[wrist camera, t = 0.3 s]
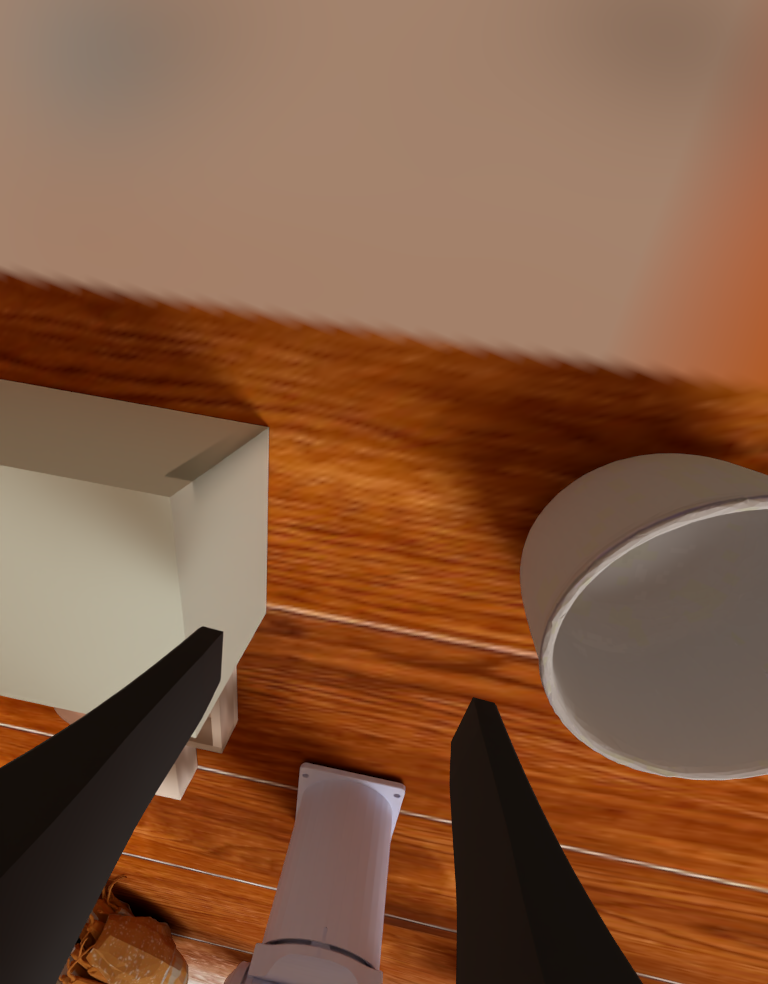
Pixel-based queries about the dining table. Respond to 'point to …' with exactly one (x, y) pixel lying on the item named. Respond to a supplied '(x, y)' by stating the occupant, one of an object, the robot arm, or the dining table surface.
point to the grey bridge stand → (122, 541)
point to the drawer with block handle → (204, 741)
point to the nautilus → (123, 949)
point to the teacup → (656, 613)
